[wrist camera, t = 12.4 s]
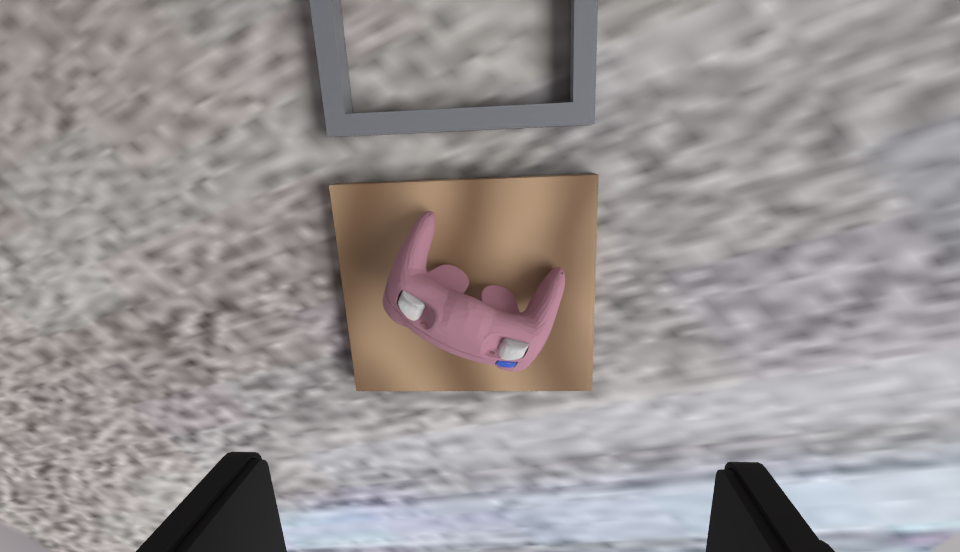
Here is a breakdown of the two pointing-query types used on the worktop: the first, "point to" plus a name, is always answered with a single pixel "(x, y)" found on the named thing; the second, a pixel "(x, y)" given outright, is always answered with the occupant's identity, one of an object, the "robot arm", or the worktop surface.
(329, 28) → the frame
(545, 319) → the video game controller
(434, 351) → the walnut board
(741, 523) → the robot arm
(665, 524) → the worktop surface
